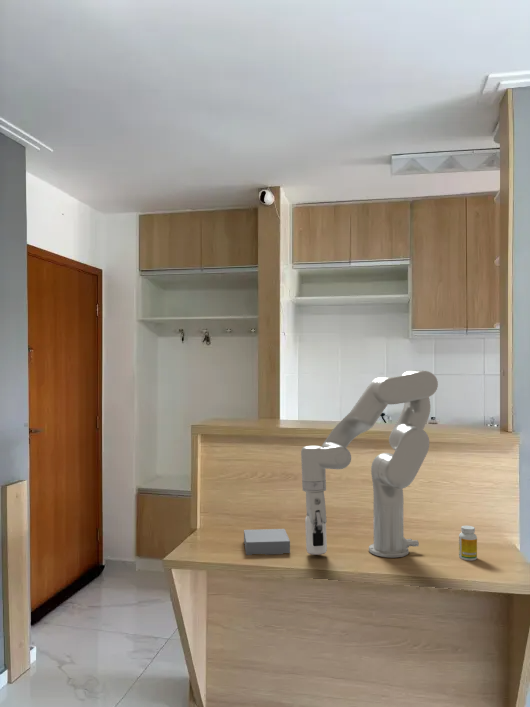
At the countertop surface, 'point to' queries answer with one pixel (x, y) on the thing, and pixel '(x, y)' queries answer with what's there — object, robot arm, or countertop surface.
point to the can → (309, 538)
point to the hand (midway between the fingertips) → (316, 541)
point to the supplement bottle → (468, 543)
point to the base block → (266, 541)
